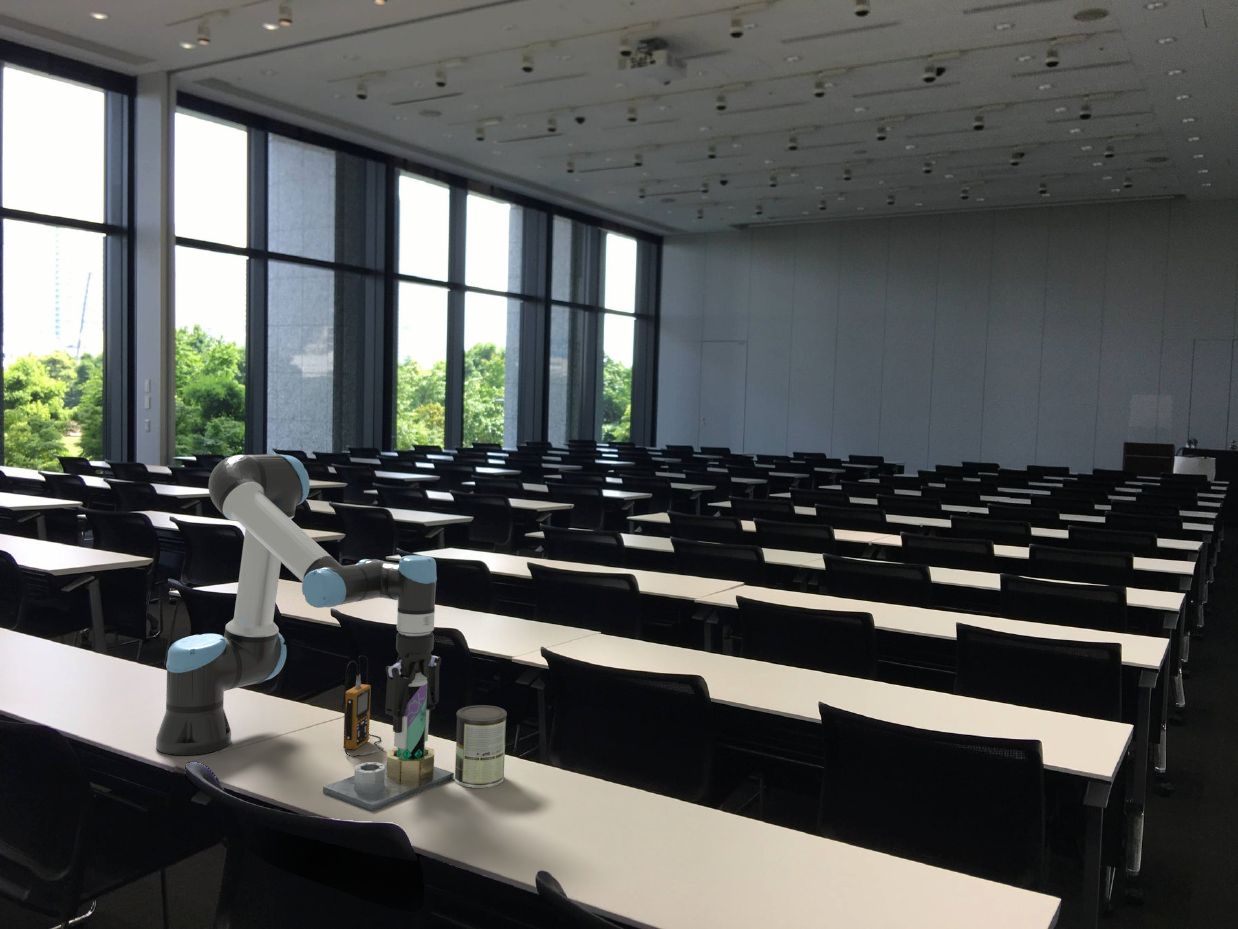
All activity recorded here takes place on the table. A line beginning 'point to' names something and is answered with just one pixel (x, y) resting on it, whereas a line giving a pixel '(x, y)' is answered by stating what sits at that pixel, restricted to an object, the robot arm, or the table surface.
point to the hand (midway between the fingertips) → (411, 743)
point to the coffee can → (480, 746)
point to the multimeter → (357, 714)
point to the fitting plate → (389, 780)
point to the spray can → (415, 719)
